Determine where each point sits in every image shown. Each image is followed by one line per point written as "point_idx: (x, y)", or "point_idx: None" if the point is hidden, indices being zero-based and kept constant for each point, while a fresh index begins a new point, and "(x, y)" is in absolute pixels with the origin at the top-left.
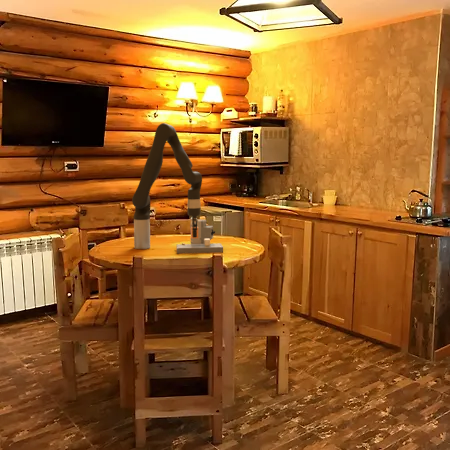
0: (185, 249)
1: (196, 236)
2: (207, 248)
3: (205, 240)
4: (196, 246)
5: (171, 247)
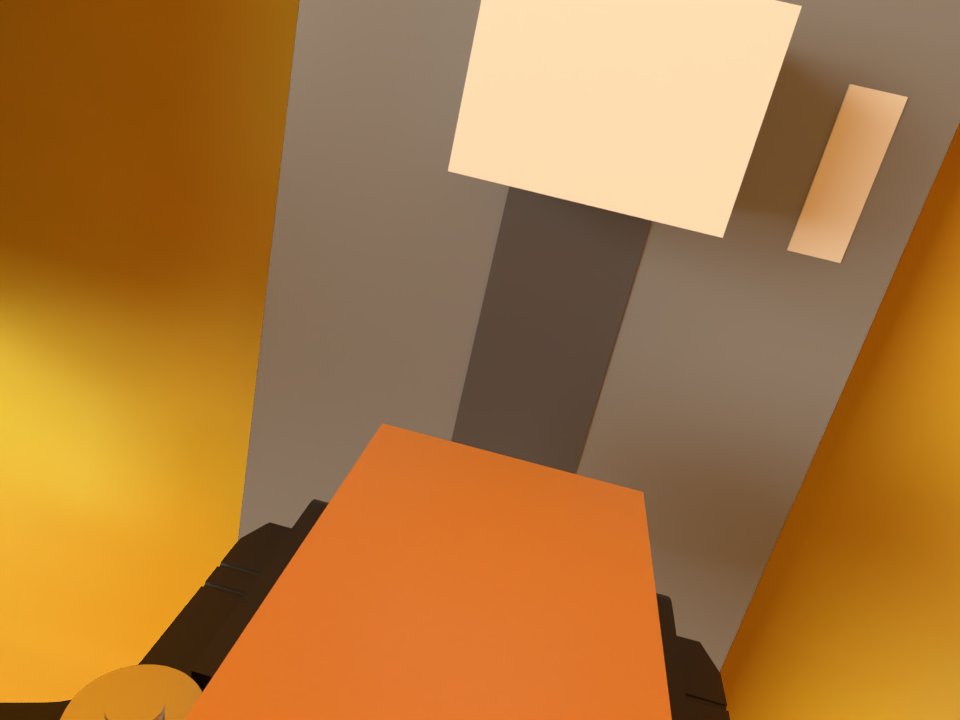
0: None
1: (666, 615)
2: (917, 191)
3: (726, 209)
4: (619, 427)
5: (60, 639)
